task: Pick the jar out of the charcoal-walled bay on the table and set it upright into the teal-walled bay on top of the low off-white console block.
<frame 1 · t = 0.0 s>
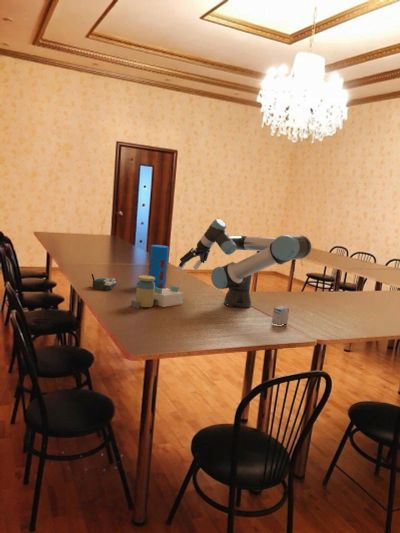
hand: (186, 269, 264), 15 cm above the table, tool tilted 35°, fingers open, 13 cm apart
communication device: (106, 286, 269), on the table
medicine box: (279, 325, 224), on the table
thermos: (156, 286, 282), on the table
jar: (144, 306, 233), on the table
console: (155, 304, 239), on the table
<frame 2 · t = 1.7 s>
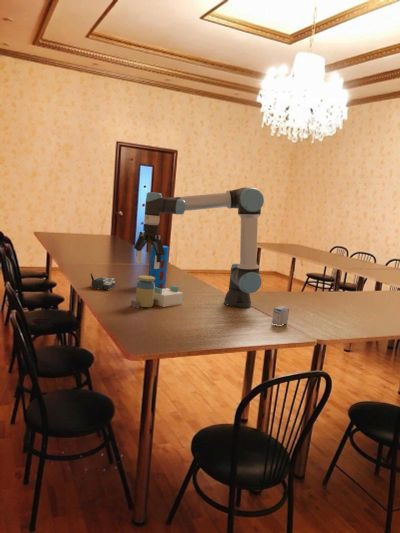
hand: (147, 266, 230), 21 cm above the table, tool pointing down, fingers open, 13 cm apart
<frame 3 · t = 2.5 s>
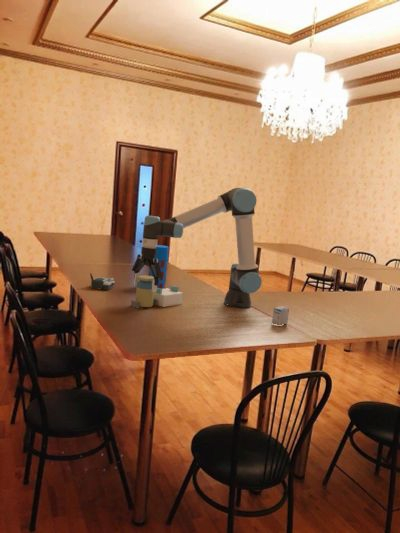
hand: (145, 288, 232), 9 cm above the table, tool pointing down, fingers open, 13 cm apart
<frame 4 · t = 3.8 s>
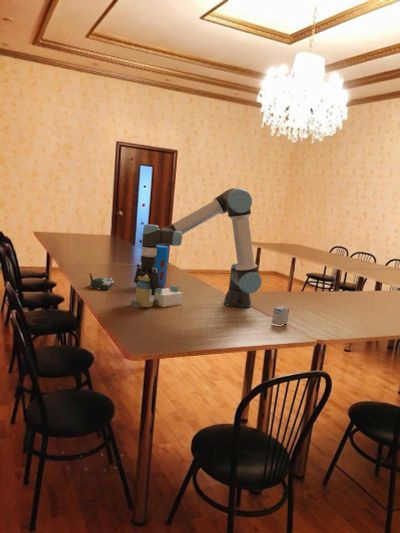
hand: (144, 299, 233), 3 cm above the table, tool pointing down, fingers closed on jar, 9 cm apart
jar: (144, 306, 233), on the table, touching gripper
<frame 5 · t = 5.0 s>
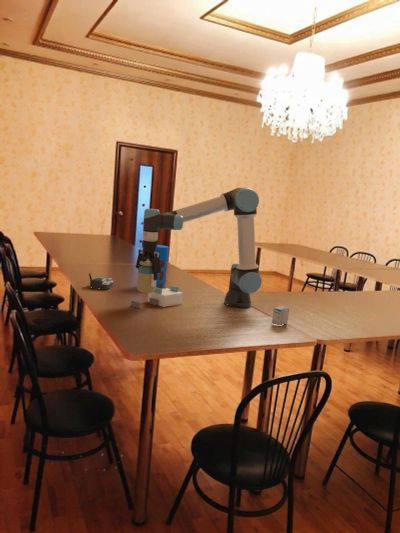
hand: (147, 284, 232), 11 cm above the table, tool pointing down, fingers closed on jar, 9 cm apart
jar: (146, 291, 232), point 7 cm above the table, touching gripper
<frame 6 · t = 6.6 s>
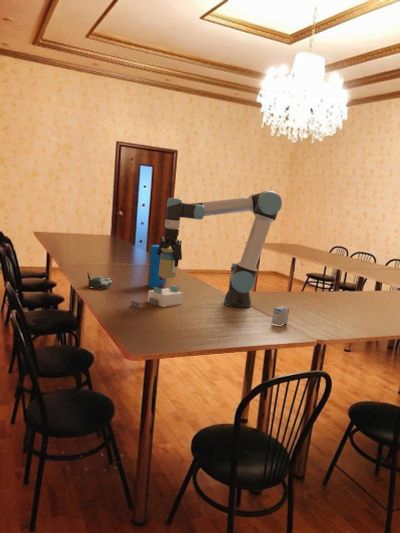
hand: (167, 270, 241), 17 cm above the table, tool pointing down, fingers closed on jar, 9 cm apart
jar: (166, 277, 242), point 14 cm above the table, touching gripper
when the fingers open (11 cm above the table, at t = 8.3 s): jar drops 1 cm, resting on console.
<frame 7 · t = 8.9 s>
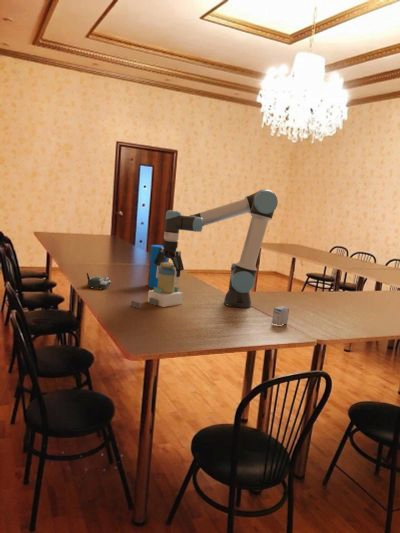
hand: (167, 280, 242), 12 cm above the table, tool pointing down, fingers open, 13 cm apart
jar: (165, 292, 243), point 6 cm above the table, touching console
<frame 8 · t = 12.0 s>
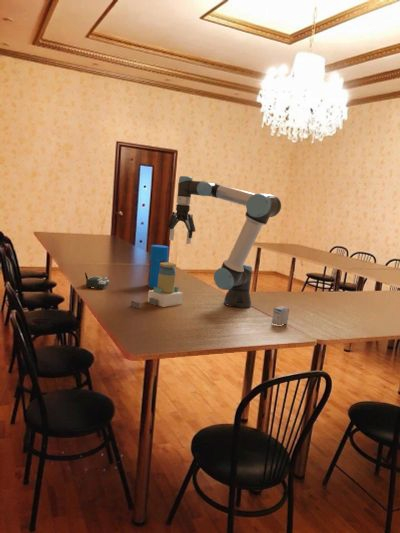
hand: (179, 242, 260), 31 cm above the table, tool pointing down, fingers open, 13 cm apart
at the end: jar 0.2 cm from the target spot, point 5.8 cm above the table; jar tilted 0°; the gripper is holding nothing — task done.
